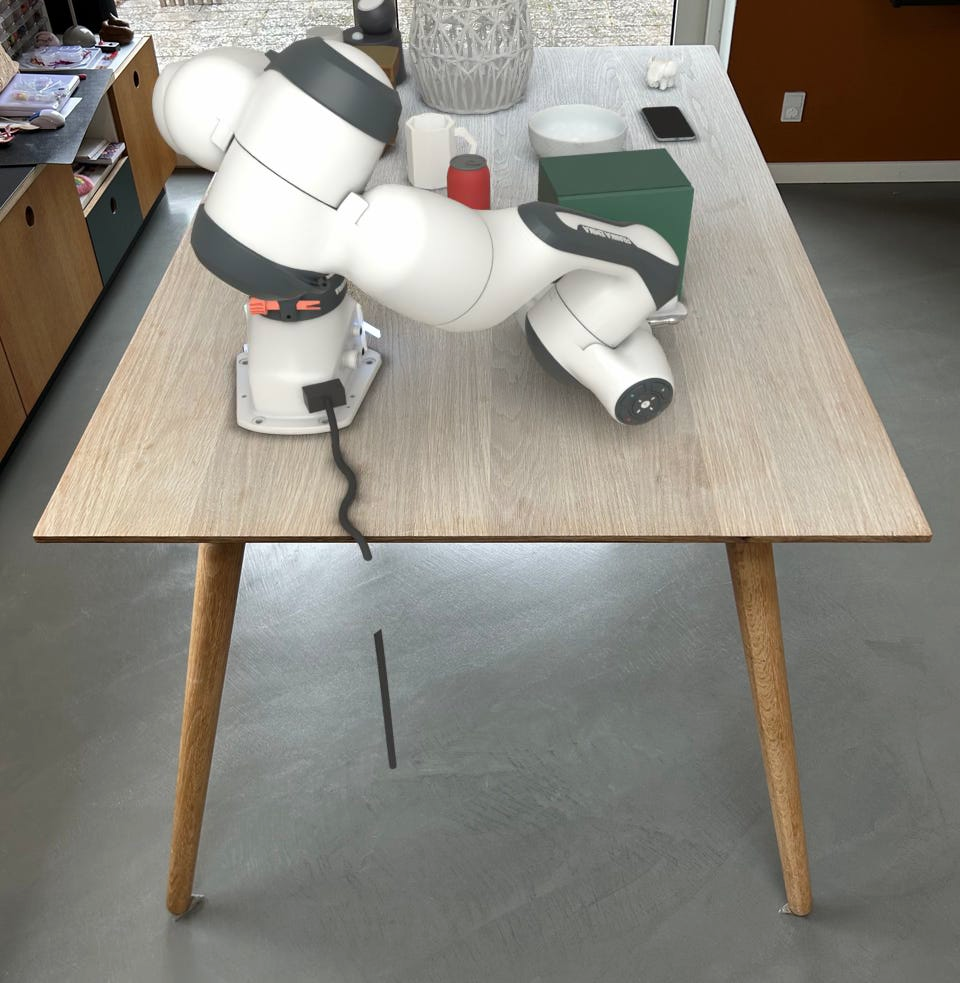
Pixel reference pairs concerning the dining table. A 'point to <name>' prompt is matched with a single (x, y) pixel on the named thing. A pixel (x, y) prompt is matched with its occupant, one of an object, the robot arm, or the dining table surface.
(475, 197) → the beer can
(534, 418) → the dining table surface
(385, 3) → the light fixture
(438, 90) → the vase
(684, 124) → the smartphone
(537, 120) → the cereal bowl
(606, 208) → the door
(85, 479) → the dining table surface
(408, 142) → the mug
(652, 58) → the elephant figurine
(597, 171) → the cupboard
